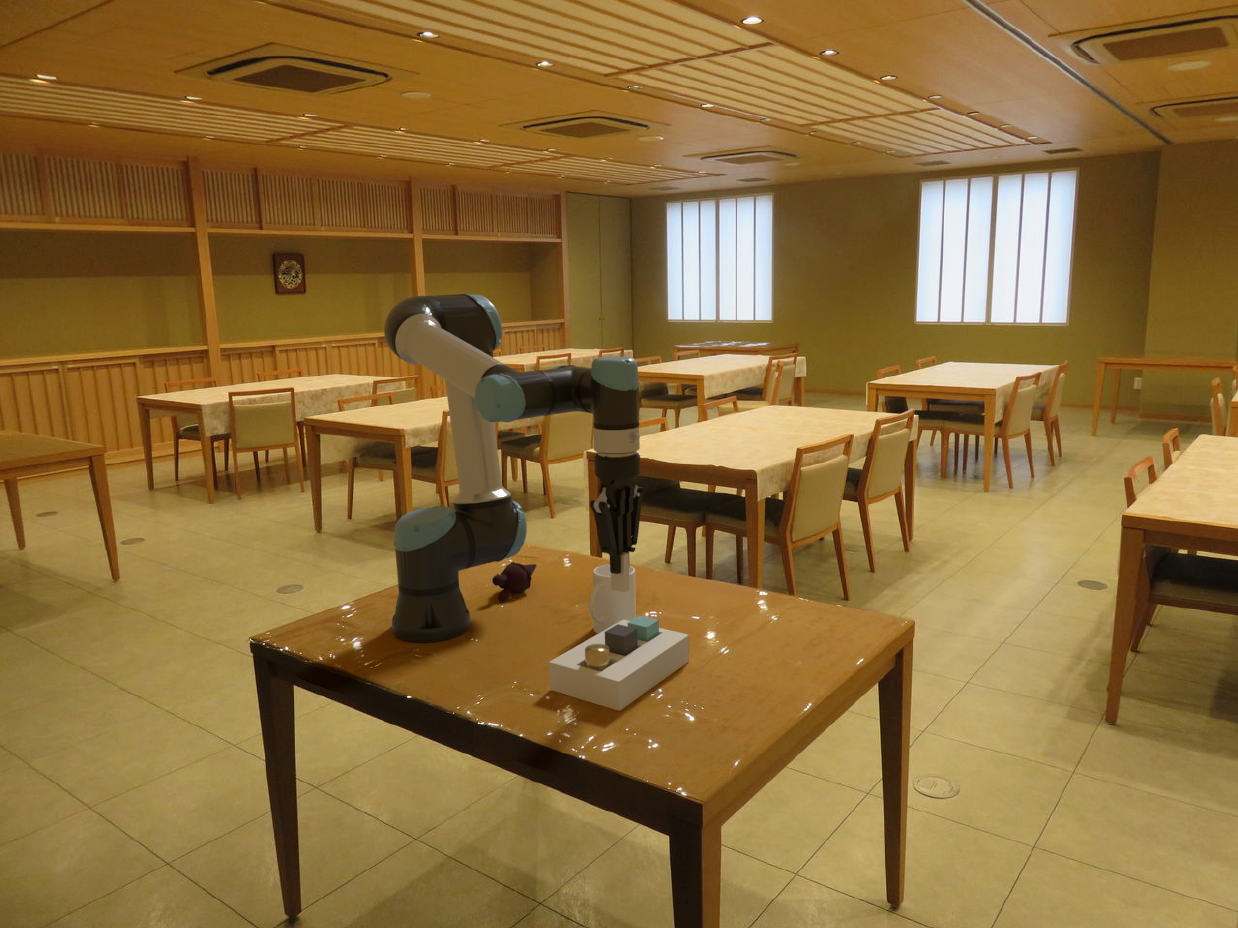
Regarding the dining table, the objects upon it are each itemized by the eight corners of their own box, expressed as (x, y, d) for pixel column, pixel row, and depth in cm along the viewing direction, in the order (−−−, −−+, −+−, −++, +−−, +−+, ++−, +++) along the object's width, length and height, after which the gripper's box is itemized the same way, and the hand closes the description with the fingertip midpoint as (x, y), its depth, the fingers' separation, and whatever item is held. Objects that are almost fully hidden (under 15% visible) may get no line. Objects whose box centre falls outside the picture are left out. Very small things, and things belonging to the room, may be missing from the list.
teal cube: (628, 646, 160) (627, 622, 159) (640, 639, 163) (639, 615, 162) (647, 651, 158) (646, 627, 157) (659, 643, 161) (658, 619, 160)
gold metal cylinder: (580, 675, 149) (580, 650, 148) (595, 667, 152) (594, 642, 151) (600, 681, 147) (600, 655, 146) (614, 672, 150) (614, 647, 149)
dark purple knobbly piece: (518, 552, 205) (478, 577, 192) (544, 548, 201) (504, 573, 188) (527, 580, 206) (488, 607, 193) (553, 577, 202) (514, 604, 189)
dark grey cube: (605, 656, 154) (604, 631, 153) (618, 648, 157) (617, 624, 157) (624, 661, 152) (624, 636, 151) (637, 653, 155) (637, 628, 154)
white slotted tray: (550, 689, 150) (549, 661, 149) (623, 644, 168) (623, 619, 167) (619, 710, 143) (618, 681, 142) (689, 661, 160) (689, 634, 159)
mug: (604, 646, 168) (603, 584, 165) (572, 634, 173) (570, 575, 171) (646, 627, 176) (645, 568, 174) (614, 617, 182) (612, 560, 179)
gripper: (613, 461, 140) (616, 605, 145) (657, 447, 151) (659, 582, 155) (574, 457, 144) (579, 597, 149) (620, 444, 155) (623, 575, 160)
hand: (620, 589), depth 152 cm, fingers closed
